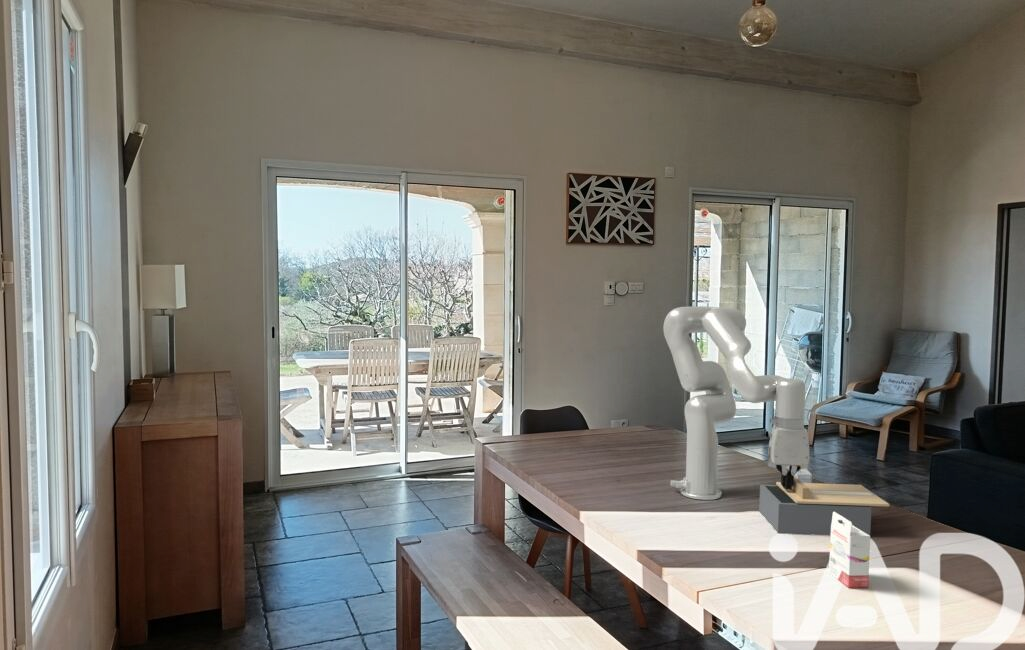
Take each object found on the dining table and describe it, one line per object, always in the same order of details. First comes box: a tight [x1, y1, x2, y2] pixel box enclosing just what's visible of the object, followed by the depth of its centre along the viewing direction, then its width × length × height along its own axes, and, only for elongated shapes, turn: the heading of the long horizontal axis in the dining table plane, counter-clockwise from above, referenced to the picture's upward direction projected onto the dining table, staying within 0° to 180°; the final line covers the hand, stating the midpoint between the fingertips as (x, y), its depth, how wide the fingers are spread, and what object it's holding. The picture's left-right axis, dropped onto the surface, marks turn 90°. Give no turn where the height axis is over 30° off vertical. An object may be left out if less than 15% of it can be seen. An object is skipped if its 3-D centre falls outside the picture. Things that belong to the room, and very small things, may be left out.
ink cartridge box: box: [828, 512, 871, 589], centre depth 159 cm, size 9×5×15 cm, turn 5°
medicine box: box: [795, 468, 813, 483], centre depth 221 cm, size 8×4×9 cm, turn 168°
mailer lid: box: [775, 476, 890, 508], centre depth 196 cm, size 24×18×4 cm
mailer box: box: [758, 484, 872, 536], centre depth 197 cm, size 24×18×8 cm
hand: (787, 488), depth 197 cm, fingers closed
